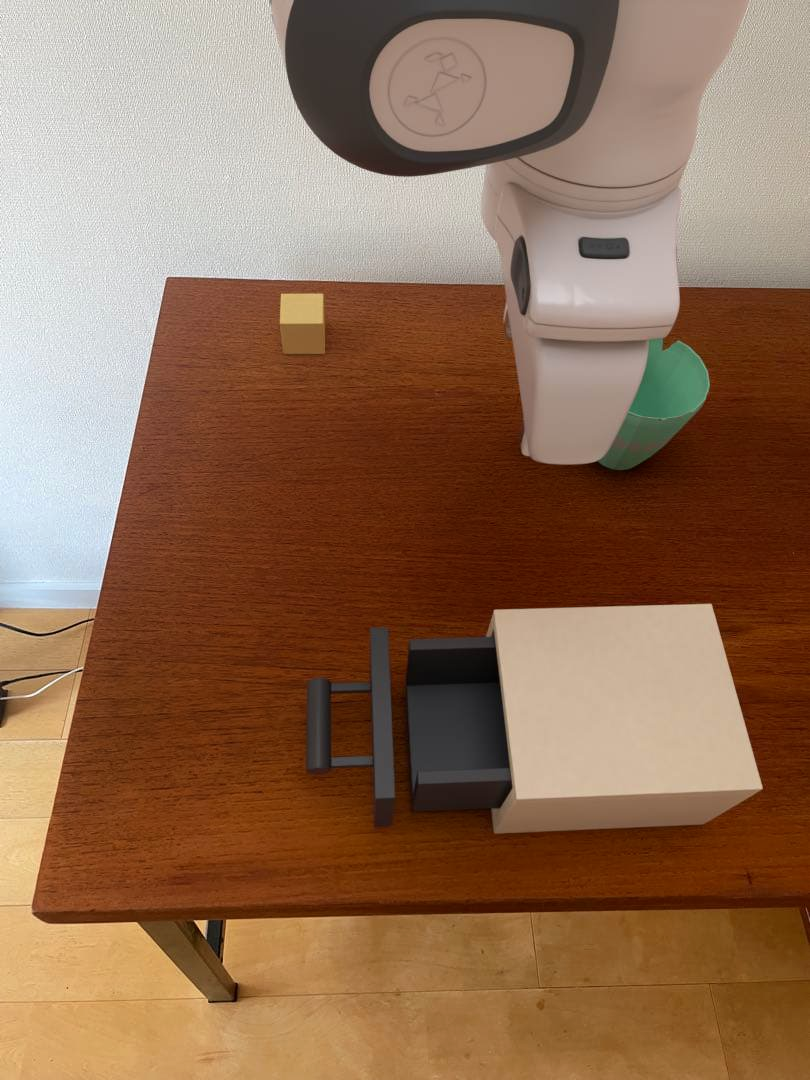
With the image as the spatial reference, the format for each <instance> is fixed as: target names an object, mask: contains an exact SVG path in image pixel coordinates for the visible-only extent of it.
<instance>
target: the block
mask: <svg viewBox="0 0 810 1080" xmlns="http://www.w3.org/2000/svg"><path fill="white" fill-rule="evenodd" d="M324 297H325V296H324V293H281V294H280V307H279V328H280V336H281V337H280V338H281V346H282V353H283V355H326V316H325V315H326V314H325V301H324V300H325V299H324Z"/></svg>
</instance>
